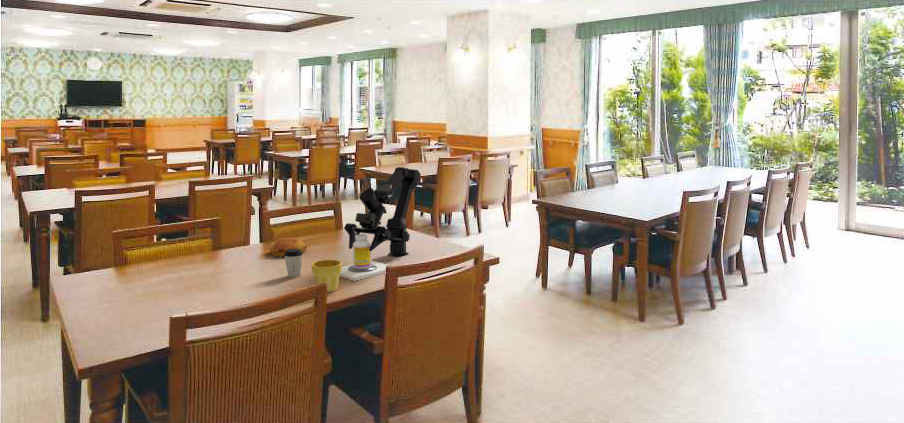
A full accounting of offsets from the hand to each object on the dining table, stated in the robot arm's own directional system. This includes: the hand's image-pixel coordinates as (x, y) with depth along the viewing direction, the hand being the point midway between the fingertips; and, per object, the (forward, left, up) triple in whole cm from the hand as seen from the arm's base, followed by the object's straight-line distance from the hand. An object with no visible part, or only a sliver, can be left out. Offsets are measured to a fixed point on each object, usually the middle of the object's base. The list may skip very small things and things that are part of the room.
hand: (359, 249), depth 242 cm
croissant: (+2, -48, -9) cm, 49 cm away
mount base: (-1, 0, -9) cm, 9 cm away
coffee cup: (+20, -15, -9) cm, 27 cm away
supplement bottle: (-1, -1, -8) cm, 8 cm away
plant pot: (+22, +9, -9) cm, 25 cm away
